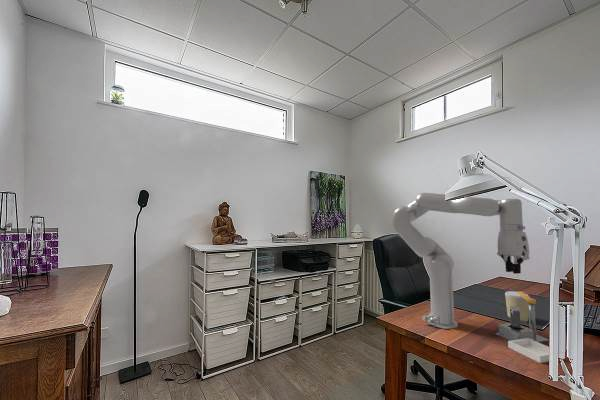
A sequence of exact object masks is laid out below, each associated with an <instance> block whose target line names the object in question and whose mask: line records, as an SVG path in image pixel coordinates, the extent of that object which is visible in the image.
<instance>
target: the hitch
mask: <svg viewBox="0 0 600 400" xmlns="http://www.w3.org/2000/svg"><path fill="white" fill-rule="evenodd" d="M535 305H536V304H530V303H528V308H529V315H528V325H529V328H528V327H526V326H523V325H521V330H515V329H513V328H511V322H508V323H507V322H506V323H500V324H499V323H498V332H496V333H494V334H495V335H498V336H500V337H501V338H503V339H505V340H508V341H512V340H519V339H525V338H529V339H532V340H534V341H536V342H539V343H541V342H545V341H546V342H547V341H550V339H549V338H547V337H544V336H542V335H538V334H537V327H536V326H537V325H536V306H535Z"/></svg>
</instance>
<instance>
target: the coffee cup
mask: <svg viewBox="0 0 600 400" xmlns="http://www.w3.org/2000/svg"><path fill="white" fill-rule="evenodd" d="M523 293H524V294H526V295H527V296H529V295H528V294H527V293H525V292H523ZM504 297H505V303H506V304H505V305H506V313H507V317H509V318H510V307H511V306H514V307H518V308H520V322H524V323H526V322H529V308H528V303H527V300H525V299H524V298H523V297H521V296H520V295H519V294H518V291H514V290H513V291H511V290H510V291H509V290H508V291H505V293H504Z"/></svg>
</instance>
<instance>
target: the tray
mask: <svg viewBox="0 0 600 400" xmlns="http://www.w3.org/2000/svg"><path fill="white" fill-rule="evenodd" d="M507 345H508V346H507V347H508V348H509V349H511V350H513V351H515V352H517V353H518V354H520V355H523V356H525V357H527V358H529V359H532V360H533V361H535V362H537V363H538V364H544V363H549V347H550V346H548V345H546V344H543V343H541V342H536V341H534V340H532V339H529V338H525V339H519V340H512V341H510V340H508V341H507Z"/></svg>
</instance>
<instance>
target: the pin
mask: <svg viewBox="0 0 600 400" xmlns="http://www.w3.org/2000/svg"><path fill="white" fill-rule="evenodd" d="M509 319H510V321H509V322H510V323H511V328H513V329H515V330H521V326H522V325H521V320H520V308H518V307H514V306H511V307H510V317H509Z"/></svg>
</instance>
